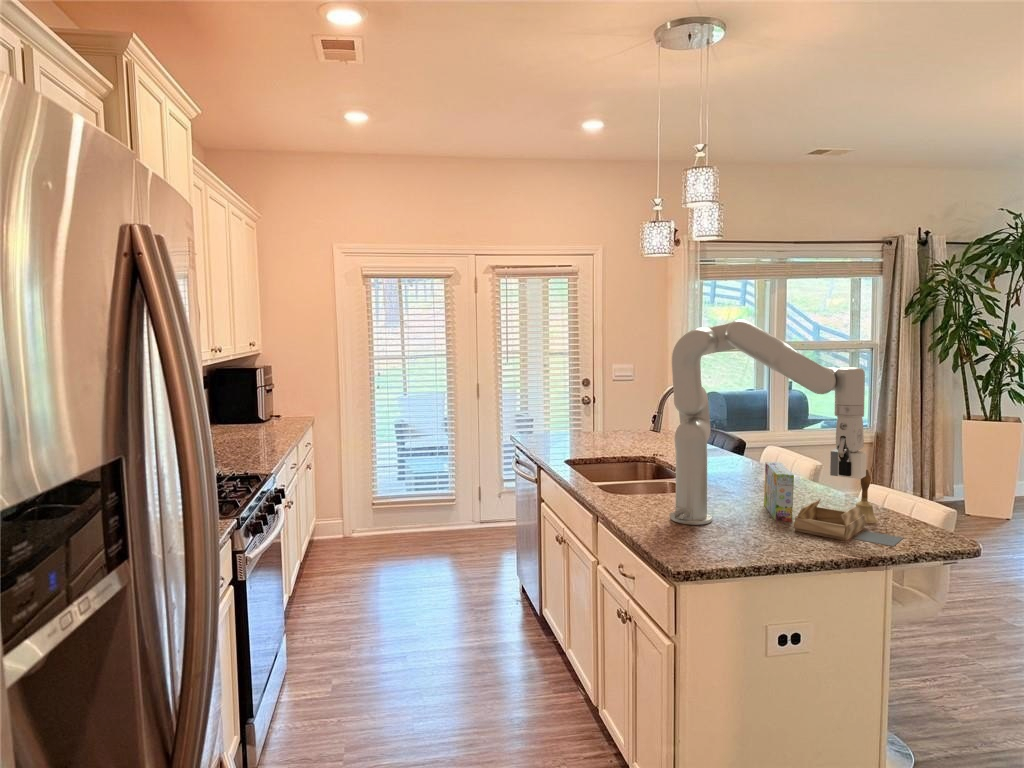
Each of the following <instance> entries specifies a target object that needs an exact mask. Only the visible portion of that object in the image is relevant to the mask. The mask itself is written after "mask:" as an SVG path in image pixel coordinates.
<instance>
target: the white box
mask: <svg viewBox="0 0 1024 768" xmlns="http://www.w3.org/2000/svg"><path fill="white" fill-rule="evenodd" d="M845 451H849V450H846V449H845ZM845 454H846V455H848V453H845ZM850 462H851V476H843V475H839V454H838V450H837V449H836V448H835V449H832V450H831V451H830V466H829V467H830V468H829V469H830V470H829V474H830V476H832V477H839V478H840V477H841V478H847V479H848V478H849V479H855V480H861V479H862V478H863V477H865V476H866V470H867V451H861V450H858V451H856V452H852V451H851V458H850Z"/></svg>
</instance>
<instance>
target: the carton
mask: <svg viewBox="0 0 1024 768" xmlns="http://www.w3.org/2000/svg"><path fill="white" fill-rule="evenodd" d="M820 502H821V498H819V499H817V500H815V501H813V502H811V503H809V504H807V505H805V506H804V507H801V508H800V511H799V512H798V514H797V516H795V517H794V523H793V528H794V532H797V533H798V532H799V533H804V534H809V535H814V536H819V537H825V538H830V539H836V540H840V541H848V540H849V539H851V538H852V537H854V536H855V535H857V534H858V533H860V532H861V531H862V530H864V529H865V524H866V523H865V515H864V514H862V512H861V509H860V507H859V505H857V506H856V505H855V506H854V507H852V508H850V509H849V510H847V511H845V510H840V509H832V508H827V507H821V506H818V505H819V504H820Z"/></svg>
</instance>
